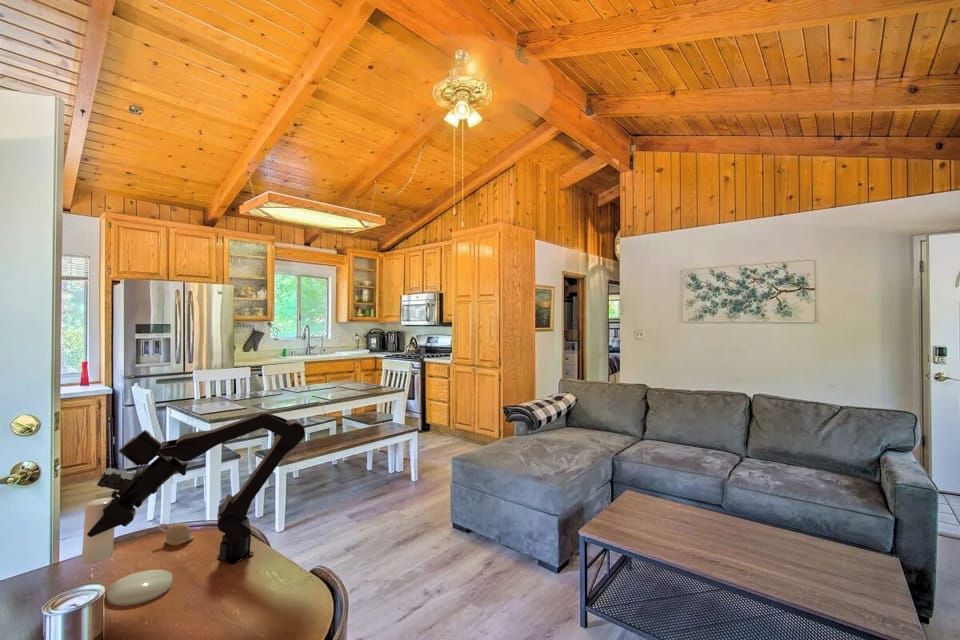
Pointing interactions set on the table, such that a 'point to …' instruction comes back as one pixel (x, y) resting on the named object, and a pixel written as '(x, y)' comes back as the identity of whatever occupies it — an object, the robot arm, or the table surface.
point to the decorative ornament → (177, 533)
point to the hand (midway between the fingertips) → (91, 530)
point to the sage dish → (139, 587)
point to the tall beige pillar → (101, 543)
